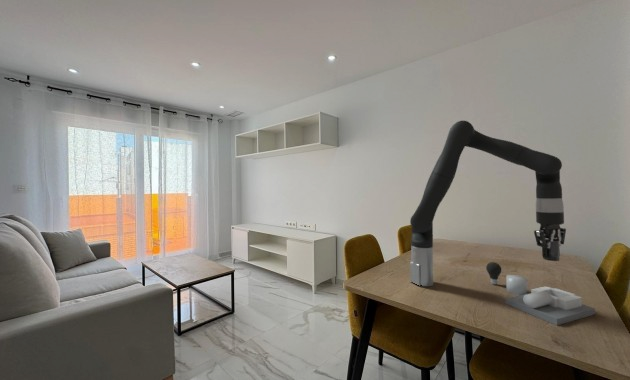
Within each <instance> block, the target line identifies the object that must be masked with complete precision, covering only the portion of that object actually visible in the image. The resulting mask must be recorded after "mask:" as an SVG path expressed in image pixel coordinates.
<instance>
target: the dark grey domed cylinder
mask: <svg viewBox="0 0 630 380" xmlns="http://www.w3.org/2000/svg"><path fill="white" fill-rule="evenodd" d="M546 243H547V241H546ZM550 249H551V258H549V259H548V258H543V257H542V258H543V260H546V261H552V262H559V261H560V256H559V249H560V247H559V241H558V240H553V242H551V246H550Z"/></svg>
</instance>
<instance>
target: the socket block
mask: <svg viewBox="0 0 630 380" xmlns="http://www.w3.org/2000/svg"><path fill="white" fill-rule="evenodd" d="M582 301H583V297H581V296H579V295H576V294H575V293H573V292H569V291H565V290H562V289H559V288H556V287H554V288H552V287H548V286H547V285H546V286H541V287H536V288H532V289H530V292H529V293H527V294H524V295H514V296H512V297H511V296H510V297H507V298H505V304H506V305H508V306H510V307H512V308H514V309H517V310H520V311H522V312H523V313H527V314H529V315H531V316H534V317H536V318H538V319H541V320H543V321H546V322H548V323H550V324H553V325H555V326H560V325H563V324H566V323H570V322H573V321H577V320H580V319H584V318H587V317H590V316H594V315H596V308H595V307H592V306H589V305H587V304H583V302H582ZM593 314H594V315H593Z"/></svg>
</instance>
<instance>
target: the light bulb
mask: <svg viewBox="0 0 630 380" xmlns="http://www.w3.org/2000/svg"><path fill="white" fill-rule="evenodd" d="M485 267H486V271H487V272H486V273H488V275H489V279H490V284H492V285H494V286H496V285H497V284H498V279H499V276H500V275H501V272H502V266H501V265H500V264H499V263H497V262H494V261H491V262H488V263H487V264H486V266H485Z"/></svg>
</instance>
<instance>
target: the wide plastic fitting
mask: <svg viewBox="0 0 630 380" xmlns="http://www.w3.org/2000/svg"><path fill="white" fill-rule="evenodd" d="M505 277H506V279H505V281H506V292H508V293H510V294H512V295H515V296H520V295H524V294H528V278H527V277H524V276H523V275H522V276H521V275H517V274H507V275H506V276H505Z"/></svg>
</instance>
